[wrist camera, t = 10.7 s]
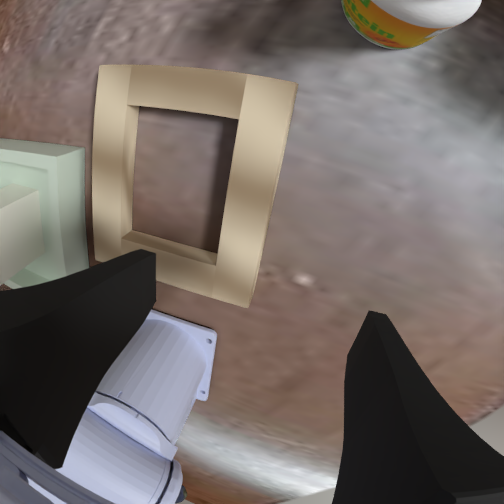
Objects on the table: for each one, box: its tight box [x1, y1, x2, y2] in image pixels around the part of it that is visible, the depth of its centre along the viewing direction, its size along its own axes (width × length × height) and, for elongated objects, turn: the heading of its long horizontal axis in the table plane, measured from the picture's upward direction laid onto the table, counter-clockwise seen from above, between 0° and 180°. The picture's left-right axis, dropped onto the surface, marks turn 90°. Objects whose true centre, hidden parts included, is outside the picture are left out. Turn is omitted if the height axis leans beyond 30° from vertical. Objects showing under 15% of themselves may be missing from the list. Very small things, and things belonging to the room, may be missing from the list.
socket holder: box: [92, 65, 298, 308], centre depth 19 cm, size 14×12×2 cm
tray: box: [0, 138, 89, 289], centre depth 23 cm, size 14×14×3 cm
